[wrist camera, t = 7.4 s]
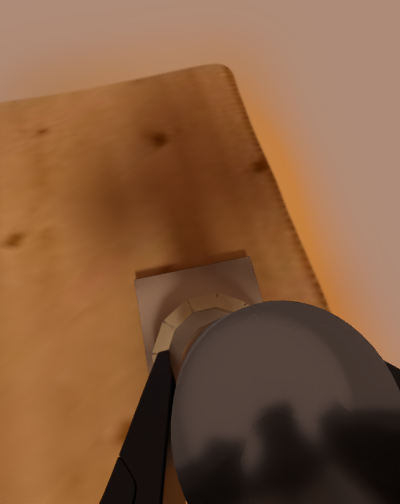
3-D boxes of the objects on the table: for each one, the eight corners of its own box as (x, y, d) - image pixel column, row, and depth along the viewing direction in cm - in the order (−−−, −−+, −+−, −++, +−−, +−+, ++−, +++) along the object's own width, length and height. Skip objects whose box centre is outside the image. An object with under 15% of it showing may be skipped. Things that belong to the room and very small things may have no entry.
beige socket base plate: (297, 434, 20) (315, 450, 17) (166, 473, 19) (162, 496, 16) (247, 258, 24) (255, 249, 21) (136, 281, 22) (129, 274, 20)
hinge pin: (271, 348, 16) (440, 376, 5) (235, 423, 15) (363, 655, 4) (206, 307, 16) (243, 261, 6) (165, 377, 15) (119, 477, 5)
